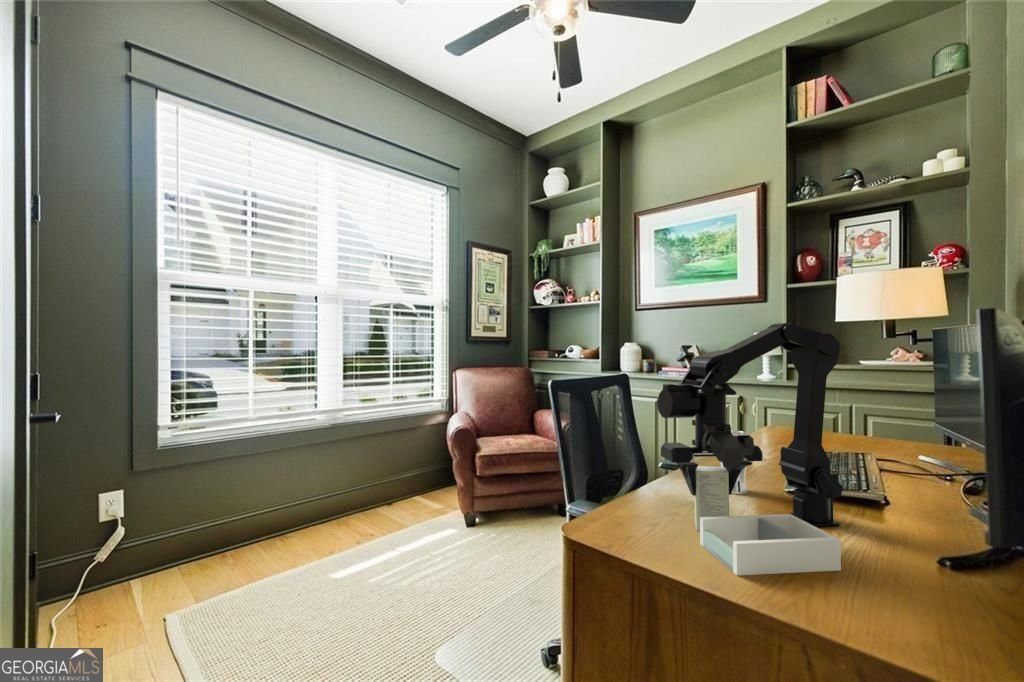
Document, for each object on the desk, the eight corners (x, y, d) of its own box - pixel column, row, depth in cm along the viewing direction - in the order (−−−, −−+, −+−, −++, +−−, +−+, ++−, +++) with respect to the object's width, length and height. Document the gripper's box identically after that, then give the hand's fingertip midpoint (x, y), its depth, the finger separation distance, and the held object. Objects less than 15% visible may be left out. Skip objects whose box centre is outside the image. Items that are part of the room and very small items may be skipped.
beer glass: (753, 496, 106) (752, 435, 106) (722, 494, 107) (722, 434, 108) (743, 487, 113) (743, 430, 113) (715, 485, 114) (715, 429, 114)
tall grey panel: (763, 539, 79) (763, 518, 79) (797, 561, 71) (796, 537, 71) (758, 539, 79) (758, 518, 79) (791, 561, 71) (791, 537, 71)
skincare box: (726, 526, 87) (726, 466, 88) (730, 535, 83) (729, 472, 83) (693, 522, 89) (693, 464, 90) (695, 531, 85) (694, 469, 86)
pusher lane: (790, 540, 81) (790, 514, 81) (840, 570, 70) (840, 539, 70) (700, 544, 79) (699, 517, 79) (736, 575, 68) (736, 543, 68)
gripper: (686, 424, 78) (686, 510, 78) (782, 423, 80) (783, 507, 79) (659, 415, 89) (659, 490, 89) (744, 414, 91) (744, 488, 90)
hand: (710, 494), depth 86 cm, fingers closed on skincare box, 7 cm apart
